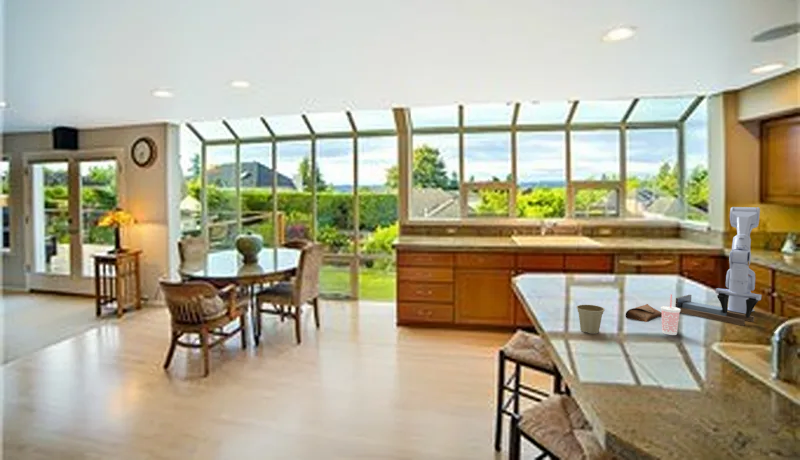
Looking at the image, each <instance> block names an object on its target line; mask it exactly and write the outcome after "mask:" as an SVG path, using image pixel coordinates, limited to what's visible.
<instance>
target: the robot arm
mask: <svg viewBox="0 0 800 460" xmlns="http://www.w3.org/2000/svg"><path fill="white" fill-rule="evenodd" d="M729 210H730V211H729V223H730V227H732V228H735V229H736V233H737V234H736V235H735V236H733V238H732V243H731V250H730V252H729V258H728V259H729V260H728V261H729V262H728V263H729V269H728V270H727V271H726V275H725V287H726V288H719V287H718V288H715V293H714V294H717V296H716V297H717V298H718V300H719V303H720V305H721V306H720V307H722V310H723V313H727V311H728V312H733V313H739V314H744V315H746V317H747V318H749V317H750V316H752V312H755V309H754V308H755V306H756V305H757V303H758V302H759V301H761V300H762V294H757V293H754V292H753V293H752V292H751V291H754V290H755V288H756V287H755V286H756V273H755V271H754V270H752V269H751V268H750V267H749V266H750V265H751V260H752V259H751V258H752V252H751V251H752V250H751V242H752V239H751V233H752V230H753V229H756V228H758V227H759V223H760V213H761V208H760V207H759V206H757V207H752V206H751V207H749V206H748V207H747V206H743V207H742V206H732V207H730V209H729Z"/></svg>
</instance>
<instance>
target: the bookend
mask: <svg viewBox="0 0 800 460" xmlns="http://www.w3.org/2000/svg"><path fill="white" fill-rule="evenodd" d="M688 301H691V302H692V294H688V295H687V294H685V295H684V296H683V295H682V296H679V297H676V298H675V307H677V308H680V307H681V308H682V305H683V303H685V302H688Z"/></svg>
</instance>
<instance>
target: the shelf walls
mask: <svg viewBox="0 0 800 460" xmlns="http://www.w3.org/2000/svg"><path fill="white" fill-rule="evenodd" d="M680 309H681V310H680V313H681V314H685V315H690V316H695V317H700V318H704V319H709V320H710V319H711V320H715V321H719V322H724V323H729V324H733V325H738V326H743V327H744V326H745V325H746V324H745V323H746V321H747V322H752V323H753V322H754V321H755V316H754V315H750V317H749V318H747V317H746V314H744V313H739V312H734V311H728V310H727V316H722V315H717V314H712V313H707V312H702V311H697V310H691V309H686V308H681V307H680ZM680 313H679V314H680Z"/></svg>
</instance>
